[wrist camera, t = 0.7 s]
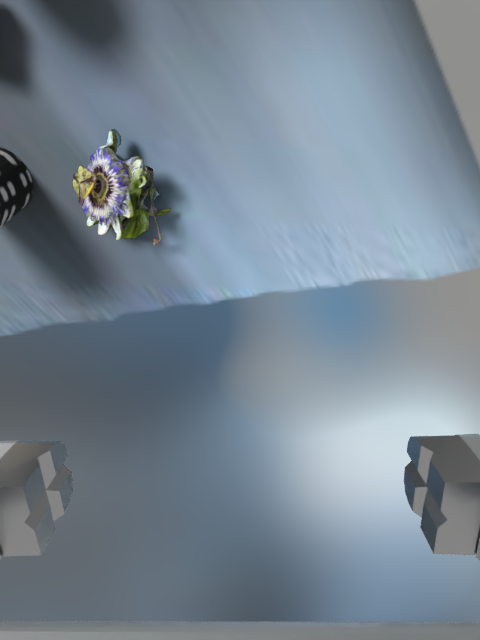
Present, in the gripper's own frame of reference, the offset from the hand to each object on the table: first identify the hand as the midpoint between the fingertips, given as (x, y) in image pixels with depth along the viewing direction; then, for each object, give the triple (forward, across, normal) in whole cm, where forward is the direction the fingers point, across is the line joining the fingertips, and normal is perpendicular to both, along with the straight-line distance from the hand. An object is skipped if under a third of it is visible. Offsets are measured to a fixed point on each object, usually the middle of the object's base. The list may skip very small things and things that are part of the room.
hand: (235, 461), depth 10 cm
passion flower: (+46, +15, -6) cm, 49 cm away
